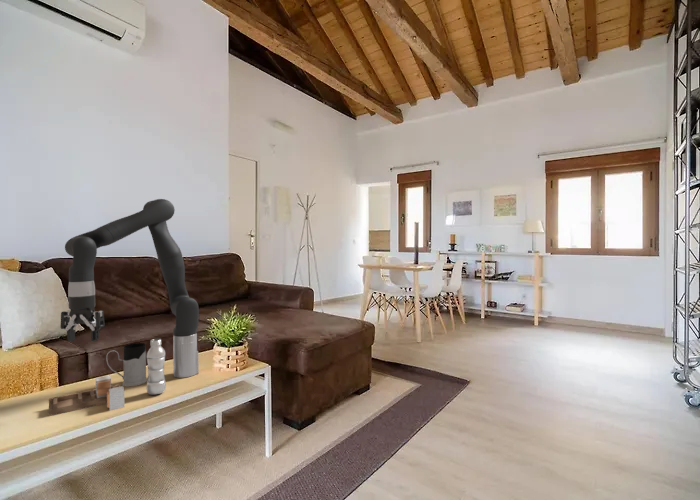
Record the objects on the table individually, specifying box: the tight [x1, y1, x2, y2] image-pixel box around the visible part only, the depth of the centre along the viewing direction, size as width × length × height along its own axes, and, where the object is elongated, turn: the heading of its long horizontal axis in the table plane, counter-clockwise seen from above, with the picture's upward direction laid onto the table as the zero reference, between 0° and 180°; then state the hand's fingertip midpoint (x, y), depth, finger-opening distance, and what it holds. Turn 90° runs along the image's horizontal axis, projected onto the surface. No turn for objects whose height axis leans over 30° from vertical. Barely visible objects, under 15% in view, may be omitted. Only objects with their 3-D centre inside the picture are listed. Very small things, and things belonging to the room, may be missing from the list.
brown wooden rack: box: [47, 374, 120, 417], centre depth 126 cm, size 20×7×8 cm, turn 129°
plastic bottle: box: [146, 338, 167, 396], centre depth 135 cm, size 6×7×20 cm
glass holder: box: [105, 342, 148, 387], centre depth 146 cm, size 9×14×15 cm, turn 112°
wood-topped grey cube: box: [105, 385, 125, 411], centre depth 124 cm, size 4×5×6 cm
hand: (83, 340), depth 126 cm, fingers open, 8 cm apart
